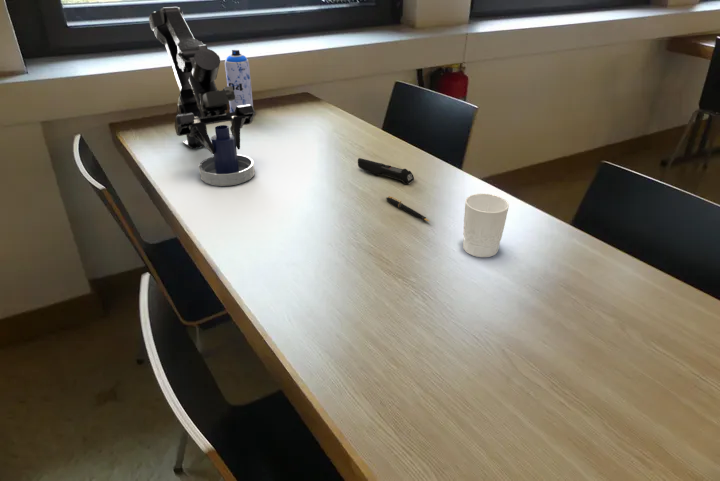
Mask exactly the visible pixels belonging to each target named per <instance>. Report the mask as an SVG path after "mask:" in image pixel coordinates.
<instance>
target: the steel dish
mask: <svg viewBox="0 0 720 481" xmlns="http://www.w3.org/2000/svg"><path fill="white" fill-rule="evenodd" d="M237 158H238V167H239V172H236V173H229V174H216V170H215V163H214V156H213V155H212V156H210V157H208V158H204V159H203V160H202V161H201V162H199V165H198V171H199V176H200V179H201V181H202V182H204V183H205V184H208V185H212V186H217V187H219V186H220V187H230V186H236V185H240V184H243V183H245V182H248V181H249V180H251V179H252V178H253V177H254V176H255V173H256V172H255V161H254V160H253V158H251V157H250V156H247V155H243V154H238V153H237Z"/></svg>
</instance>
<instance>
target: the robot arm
mask: <svg viewBox="0 0 720 481" xmlns="http://www.w3.org/2000/svg"><path fill="white" fill-rule="evenodd" d="M148 22H149V27H150V30H151V31H153V33H154V36H155V37H156V39H157V40H158V41H159V42H160V43H161V44H162V45H164V46H165V50H166V54H167V55H168V58H169V61H170V65H171V68H172V71H173V74H174V77H175V81H176V83H177V86H178V89H179V95H178V100H177V107H176V113H175V115H176V116H175V120H174V131H175V133H176V136H178V137H181V136H186V140H183V141H182V144H184V145H185V146H187V147H188V148H190V149H192V150H196V149H199V148H200V149H201V148H203V147H205V148H206V149H207V150H208V152H210V153H211V154H212V155H213V154H214V153H215V151H214V148H213V145H212V141H211V138H210V137H209V134H208V128H207V126H208V125H213V124H220V123H225V122H230V124H231V126H230V127H229V131H230V134H232V135H234V136H235V141H236V149H237V151H238V150H240V149H241V129H243V127H244V126H248V125H250V124H252V123H253V121H254V118H255V115H256V110H255V108H254V105H253V106H251V105H250V104H247V105H240V106H236V109H235V112H231V113H230V112H226V111H227V110H228V105H230V104H229V101H233V100H234V99H235V94H234V91H233V88H232V86H228V87H227V86H224V87H223V88H222V89H221V90H220V89H218V87H217V85H216V82H215V81H216V80H217V79H218V78H217V77H218V73H219V69H220V66H221V57H220V56H219V54H217V52H215V51H214V50H213V49H210V48H208V46H207V44H204V43H203V42H202V41H200V40H198V39H196V38H195V37H194V35H193V33H192V32H191V30H190V27H189V25H188V23H187V22H186V20H185V17H184V13H183V10H182V8H181V7H178V6H166V7H162V8H160V9H159V10H157V11H153V12H151V13H150V15H149V17H148Z"/></svg>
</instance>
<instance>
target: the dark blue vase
mask: <svg viewBox="0 0 720 481" xmlns="http://www.w3.org/2000/svg"><path fill="white" fill-rule="evenodd" d="M214 131H215V135H213V136H211V138H210V141H212V145H213V148H214V151H215V153H214V154H212V157H213V156H214V163H215V170H216V174H229V173H236V172H239V167H238V158H237V154H238V149H237V147H236V141H235V136H234V135H232V133H230V127H229V125H226V124H221V125H217V126H215V127H214Z"/></svg>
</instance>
